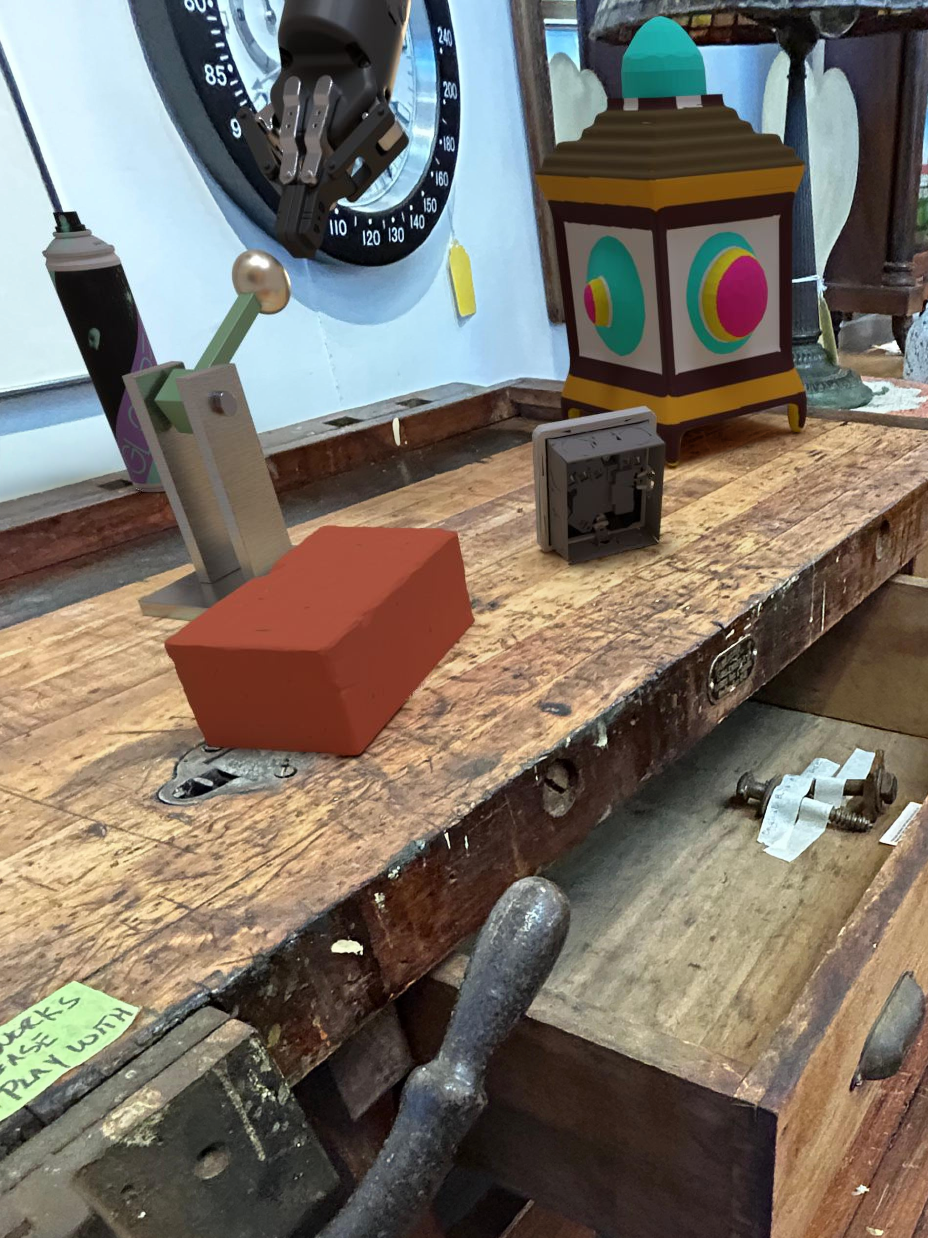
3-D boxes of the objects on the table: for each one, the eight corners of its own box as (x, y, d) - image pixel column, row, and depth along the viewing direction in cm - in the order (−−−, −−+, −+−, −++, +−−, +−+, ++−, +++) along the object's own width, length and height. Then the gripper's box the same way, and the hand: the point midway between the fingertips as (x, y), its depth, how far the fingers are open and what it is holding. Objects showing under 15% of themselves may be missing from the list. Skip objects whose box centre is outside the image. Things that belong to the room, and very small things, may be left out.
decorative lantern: (544, 436, 102) (485, 23, 82) (696, 399, 111) (677, 22, 91) (669, 475, 90) (636, 7, 70) (827, 431, 100) (838, 7, 80)
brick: (359, 758, 54) (325, 649, 50) (204, 749, 55) (159, 642, 51) (477, 622, 67) (458, 527, 63) (350, 617, 69) (323, 524, 65)
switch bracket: (257, 557, 78) (186, 347, 69) (357, 566, 76) (298, 351, 67) (144, 618, 70) (46, 388, 60) (254, 631, 67) (170, 394, 58)
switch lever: (266, 290, 71) (234, 236, 68) (309, 291, 70) (279, 236, 67) (176, 441, 66) (137, 391, 63) (222, 443, 65) (184, 393, 62)
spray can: (144, 496, 91) (34, 216, 77) (127, 483, 94) (18, 212, 81) (206, 483, 93) (110, 209, 80) (187, 470, 97) (91, 205, 83)
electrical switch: (646, 527, 80) (640, 397, 74) (679, 552, 77) (675, 419, 71) (536, 553, 77) (519, 419, 70) (566, 580, 74) (551, 443, 67)
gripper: (230, -40, 69) (175, 205, 68) (400, -53, 66) (343, 205, 65) (302, 65, 76) (253, 288, 76) (459, 58, 73) (408, 291, 72)
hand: (295, 249), depth 70 cm, fingers closed
